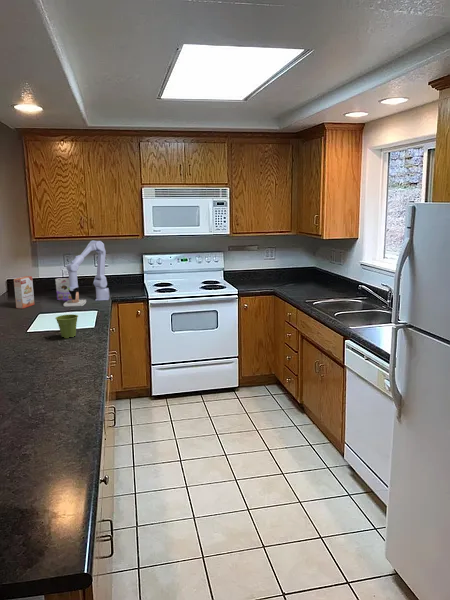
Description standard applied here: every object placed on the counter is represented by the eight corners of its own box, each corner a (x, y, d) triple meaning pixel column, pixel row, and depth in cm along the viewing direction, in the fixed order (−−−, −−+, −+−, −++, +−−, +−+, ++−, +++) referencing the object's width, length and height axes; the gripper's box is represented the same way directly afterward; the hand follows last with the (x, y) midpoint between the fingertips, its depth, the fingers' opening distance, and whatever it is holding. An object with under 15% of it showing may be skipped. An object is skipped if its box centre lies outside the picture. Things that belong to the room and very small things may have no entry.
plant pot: (71, 332, 275) (70, 313, 273) (84, 336, 268) (82, 316, 265) (52, 337, 266) (50, 317, 264) (65, 341, 259) (63, 320, 257)
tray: (86, 302, 359) (86, 299, 358) (82, 306, 346) (82, 303, 346) (68, 302, 358) (67, 300, 357) (63, 306, 345) (63, 303, 345)
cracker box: (23, 308, 340) (20, 279, 336) (16, 308, 342) (12, 278, 337) (35, 304, 354) (32, 276, 350) (27, 304, 355) (24, 275, 351)
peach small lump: (79, 301, 354) (79, 291, 353) (78, 302, 349) (77, 293, 348) (72, 301, 354) (72, 291, 352) (70, 302, 349) (70, 292, 348)
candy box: (77, 299, 371) (75, 277, 368) (74, 300, 365) (72, 278, 362) (60, 299, 372) (58, 277, 369) (56, 300, 367) (54, 279, 363)
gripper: (69, 278, 355) (71, 297, 358) (65, 281, 341) (66, 301, 344) (79, 278, 356) (81, 296, 358) (75, 281, 341) (76, 300, 344)
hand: (74, 298), depth 351 cm, fingers closed on peach small lump, 5 cm apart
